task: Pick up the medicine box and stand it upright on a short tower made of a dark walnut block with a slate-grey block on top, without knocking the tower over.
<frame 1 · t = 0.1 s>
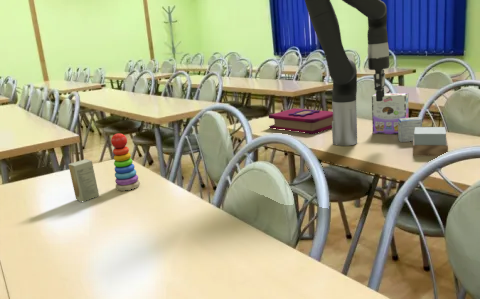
hand: (380, 99, 170), 17 cm above the table, tool pointing down, fingers open, 8 cm apart
book: (304, 128, 215), on the table
medicine box: (409, 141, 174), on the table
slate top block: (429, 141, 158), point 4 cm above the table
walnut base block: (429, 152, 159), on the table
skincare box: (87, 198, 143), on the table
candy box: (390, 133, 189), on the table
stacking toy: (128, 188, 150), on the table
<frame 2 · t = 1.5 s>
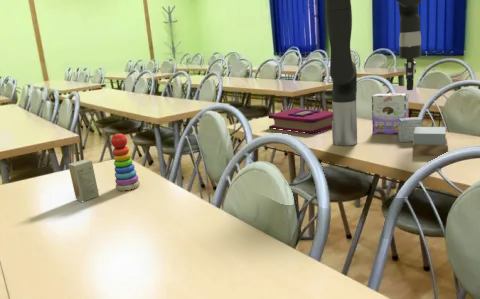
hand: (410, 88, 169), 20 cm above the table, tool pointing down, fingers open, 8 cm apart
nothing on the table moved.
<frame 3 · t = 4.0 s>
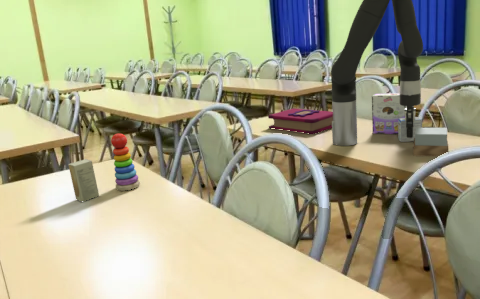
hand: (409, 135, 174), 2 cm above the table, tool pointing down, fingers closed on medicine box, 5 cm apart
medicine box: (409, 140, 174), on the table, touching gripper
slate top block: (431, 141, 157), point 3 cm above the table, touching walnut base block
walnut base block: (430, 152, 158), on the table, touching slate top block
everything else where it was.
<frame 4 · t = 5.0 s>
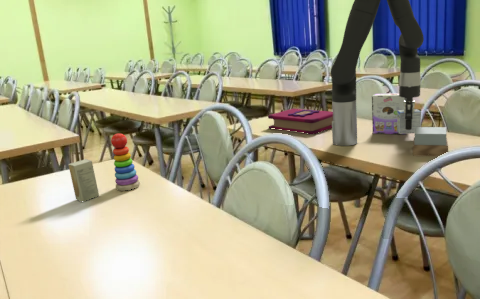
hand: (408, 127, 173), 5 cm above the table, tool pointing down, fingers closed on medicine box, 5 cm apart
medicine box: (408, 133, 174), point 3 cm above the table, touching gripper
everything else where it was.
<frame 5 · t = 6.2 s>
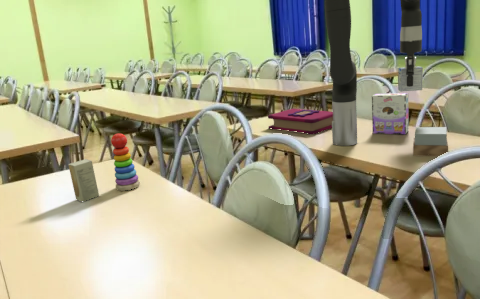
hand: (410, 85, 169), 22 cm above the table, tool pointing down, fingers closed on medicine box, 5 cm apart
medicine box: (410, 90, 169), point 19 cm above the table, touching gripper
everything else where it was.
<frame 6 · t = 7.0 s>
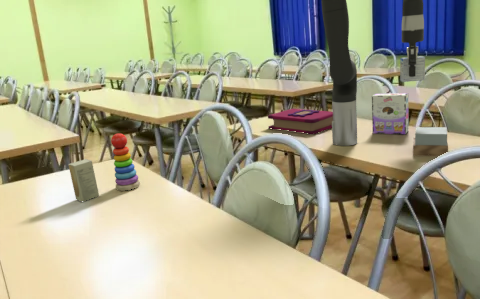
hand: (412, 75, 166), 25 cm above the table, tool pointing down, fingers closed on medicine box, 5 cm apart
medicine box: (412, 81, 167), point 23 cm above the table, touching gripper
everything else where it was.
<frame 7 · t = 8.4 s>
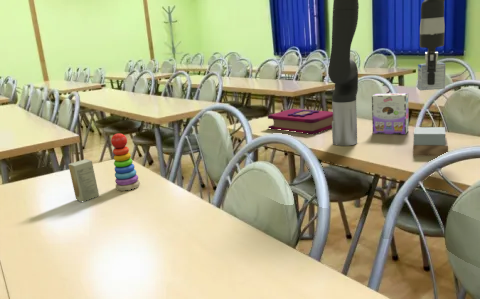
hand: (430, 83, 152), 24 cm above the table, tool pointing down, fingers closed on medicine box, 5 cm apart
medicine box: (431, 89, 153), point 22 cm above the table, touching gripper
everything else where it was.
when the fingers open (11 cm above the table, at t = 11.5 s): medicine box drops 1 cm, resting on slate top block.
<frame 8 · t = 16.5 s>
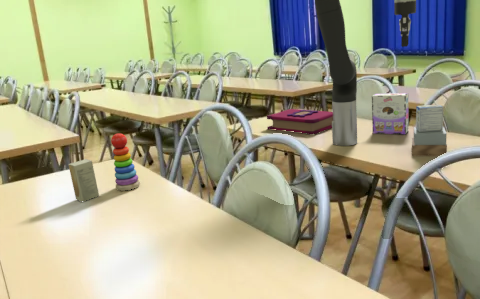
hand: (405, 45, 169), 36 cm above the table, tool pointing down, fingers open, 8 cm apart
medicine box: (429, 130, 157), point 7 cm above the table, touching slate top block
slate top block: (429, 141, 158), point 4 cm above the table, touching medicine box, walnut base block
at the end: medicine box inside the target area on the walnut base block (0.1 cm from its centre), point 7.8 cm above the walnut base block's base; medicine box tilted 0°; slate top block 0.3 cm off-centre on the walnut base block, point 4.0 cm above the walnut base block's base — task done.
